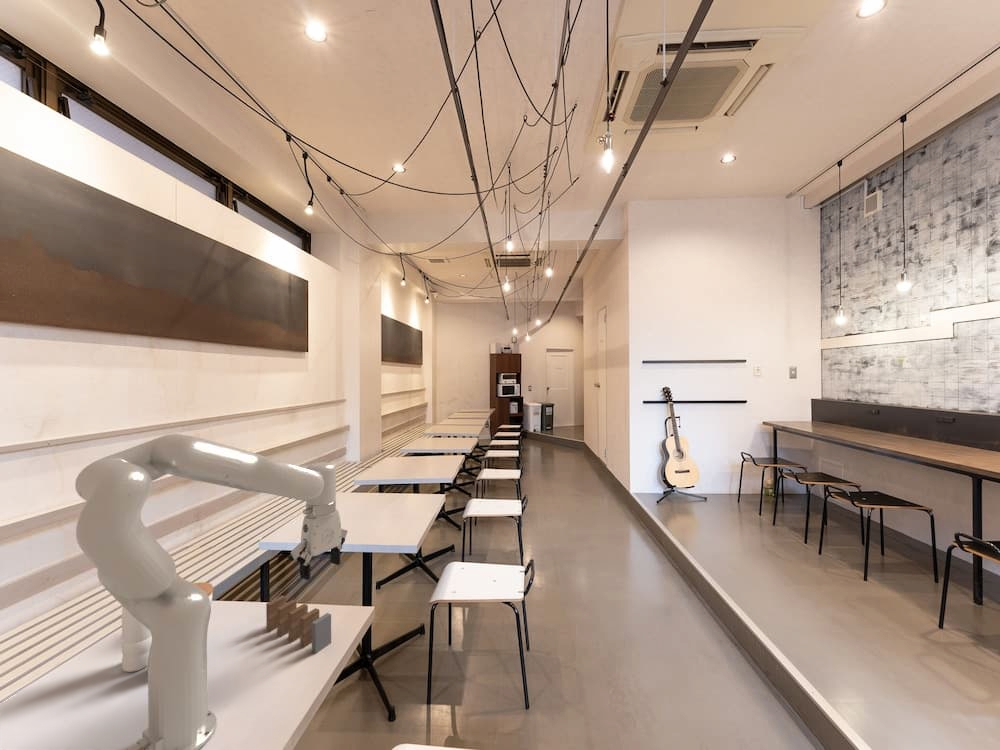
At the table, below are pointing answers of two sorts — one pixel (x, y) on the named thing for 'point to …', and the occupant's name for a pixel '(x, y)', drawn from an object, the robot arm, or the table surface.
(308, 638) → the domino
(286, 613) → the domino
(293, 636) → the domino
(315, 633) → the domino
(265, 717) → the table surface
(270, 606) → the domino
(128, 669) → the water bottle
